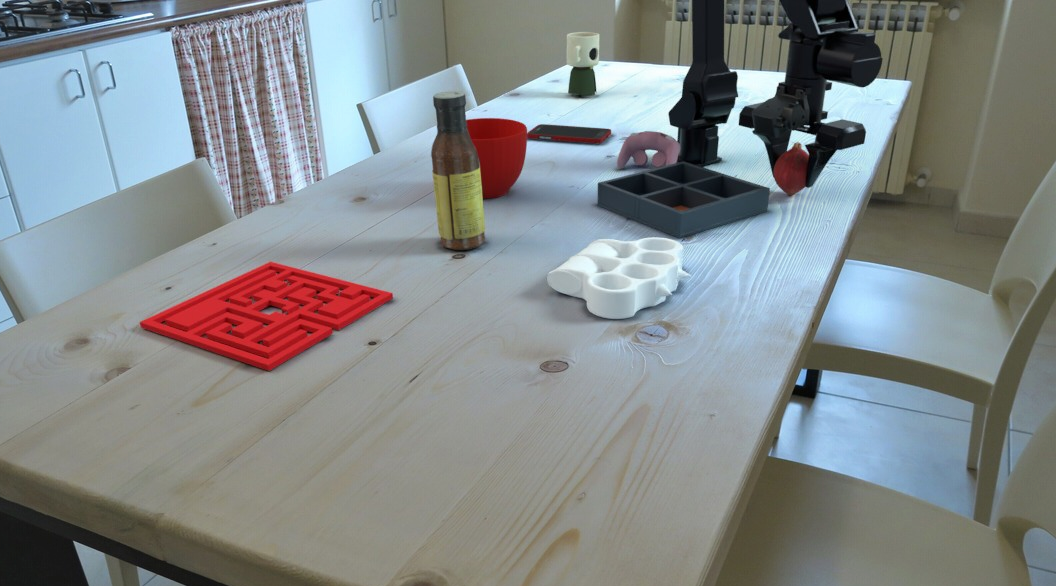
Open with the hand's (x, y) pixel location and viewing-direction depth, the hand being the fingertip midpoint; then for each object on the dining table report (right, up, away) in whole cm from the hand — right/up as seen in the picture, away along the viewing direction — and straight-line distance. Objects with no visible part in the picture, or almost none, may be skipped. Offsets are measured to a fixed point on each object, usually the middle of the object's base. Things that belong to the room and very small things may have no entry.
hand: (792, 182), depth 133 cm
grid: (-17, -4, -3) cm, 18 cm away
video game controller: (-19, +5, +15) cm, 25 cm away
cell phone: (-31, +15, +33) cm, 48 cm away
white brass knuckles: (-29, -18, -27) cm, 43 cm away
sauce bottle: (-49, -11, -13) cm, 52 cm away
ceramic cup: (-47, -1, +5) cm, 48 cm away
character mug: (-26, +32, +64) cm, 76 cm away
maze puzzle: (-70, -21, -31) cm, 80 cm away
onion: (0, -2, +1) cm, 2 cm away
